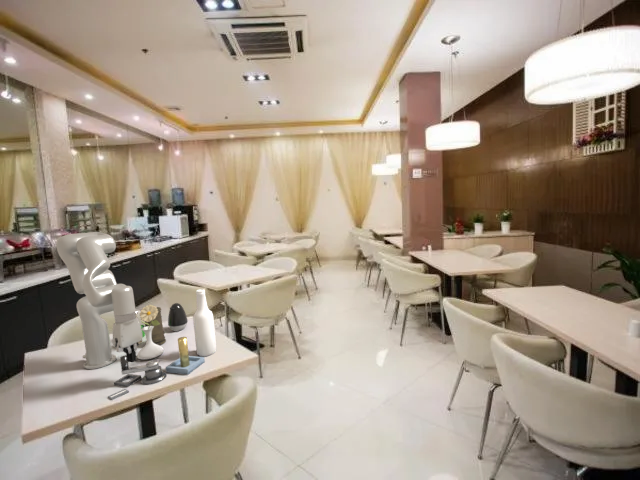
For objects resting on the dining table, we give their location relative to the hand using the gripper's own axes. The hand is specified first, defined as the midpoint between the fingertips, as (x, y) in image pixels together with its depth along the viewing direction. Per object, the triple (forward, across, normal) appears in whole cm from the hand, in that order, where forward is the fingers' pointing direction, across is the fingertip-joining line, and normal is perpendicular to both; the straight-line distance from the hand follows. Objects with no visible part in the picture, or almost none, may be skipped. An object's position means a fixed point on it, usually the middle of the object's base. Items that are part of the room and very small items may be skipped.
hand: (132, 361), depth 138 cm
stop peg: (+7, -14, +13) cm, 21 cm away
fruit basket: (+7, -32, -40) cm, 51 cm away
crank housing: (+8, -1, +4) cm, 9 cm away
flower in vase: (+7, -18, -10) cm, 22 cm away
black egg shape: (+7, -48, -26) cm, 55 cm away
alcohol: (+8, -28, +13) cm, 32 cm away
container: (+7, -30, -22) cm, 37 cm away
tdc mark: (+8, +11, +5) cm, 14 cm away
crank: (+3, 0, +5) cm, 6 cm away
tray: (+8, -14, +14) cm, 21 cm away
